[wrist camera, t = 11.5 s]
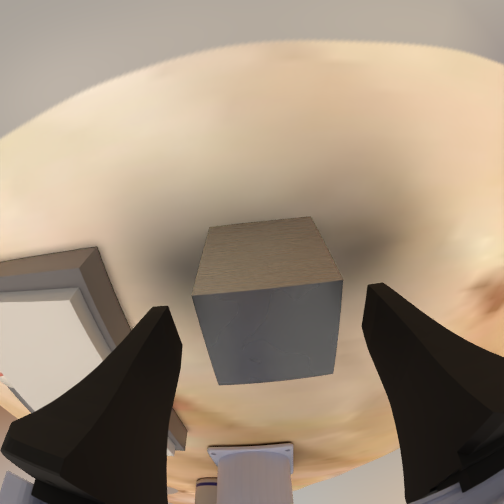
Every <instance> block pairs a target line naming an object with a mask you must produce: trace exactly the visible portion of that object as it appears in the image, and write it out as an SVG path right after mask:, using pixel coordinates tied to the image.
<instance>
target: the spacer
mask: <svg viewBox="0 0 504 504" xmlns="http://www.w3.org/2000/svg"><path fill="white" fill-rule="evenodd" d="M342 287H343V279H342V277H341V275H340V273H339V271H338V269H337V267H336V265H335V263H334V261H333V259H332V257H331V255H330V253H329V251H328V249H327V247H326V245H325V243H324V241H323V239H322V237H321V235H320V233H319V231H318V229H317V227H316V226H315V224H314V222H313V220H312V218H311V217H300V218H290V219H280V220H270V221H260V222H251V223H242V224H233V225H224V226H215V227H209V231H208V235H207V238H206V242H205V246H204V249H203V253H202V257H201V261H200V265H199V268H198V272H197V276H196V280H195V284H194V288H193V292H192V299H193V302H194V306H195V310H196V313H197V317H198V320H199V323H200V327H201V330H202V334H203V337H204V340H205V344H206V347H207V350H208V353H209V356H210V360H211V363H212V366H213V369H214V372H215V375H216V378H217V381H218V384H219V385H235V384H250V383H263V382H274V381H283V380H292V379H300V378H308V377H315V376H321V375H328V374H333V371H334V364H335V356H336V348H337V340H338V331H339V322H340V311H341V300H342Z"/></svg>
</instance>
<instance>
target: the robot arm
mask: <svg viewBox="0 0 504 504" xmlns="http://www.w3.org/2000/svg"><path fill="white" fill-rule="evenodd" d="M362 330H363V333H364V337H365V340H366V344H367V347H368V350H369V353H370V355H371V357H372V360H373V362H374V365H375V367H376V369H377V372H378V374H379V376H380V379H381V381H382V384H383V386H384V389H385V391H386V393H387V396H388V399H389V402H390V405H391V408H392V412H393V416H394V420H395V425H396V429H397V434H398V439H399V444H400V450H401V457H402V464H403V473H404V486H405V499H406V503H407V504H504V357H502V356H499V355H497V354H494V353H492V352H489V351H487V350H485V349H483V348H481V347H479V346H476V345H474V344H473V343H471V342H469V341H467V340H465V339H463V338H462V337H460V336H458V335H456V334H454V333H453V332H451V331H450V330H448V329H446V328H445V327H443V326H442V325H440V324H439V323H437V322H436V321H434V320H433V319H432V318H430V317H429V316H427V315H426V314H425V313H423V312H422V311H420V310H419V309H418V308H416V307H415V306H414V305H412V304H411V303H410V302H408V301H407V300H406V299H405V298H403V297H402V296H401V295H399V294H398V293H397V292H395V291H394V290H393V289H391V288H390V287H389V286H387V285H386V284H384V283H376V284H370V285H368V287H367V294H366V301H365V308H364V315H363V321H362ZM181 358H182V343H181V340H180V337H179V335H178V332H177V329H176V327H175V324H174V321H173V318H172V315H171V313H170V310H169V307H168V306H158V307H152V308H151V309H150V310H149V311H148V313H147V314H146V315H145V316H144V317H143V318H142V319H141V320H140V321H139V323H138V324H137V325H136V326H135V327H134V328H133V329H132V331H131V332H130V333H129V334H128V335H127V336H126V337H125V338H124V340H123V341H122V342H121V343H120V344H119V345H118V346H117V347H116V348H115V349H114V350H113V351H112V352H111V353H110V354H109V355H108V356H107V357H106V358H105V359H104V360H103V362H101V363H100V364H99V365H98V366H97V367H96V368H95V369H94V370H93V371H92V372H91V373H89V374H88V375H87V376H86V377H85V378H84V379H82V380H81V381H80V382H79V383H77V384H76V385H75V386H73V387H72V388H71V389H69V390H68V391H67V392H65V393H64V394H63V395H61V396H60V397H58V398H57V399H55V400H54V401H52V402H50V403H49V404H47V405H45V406H44V407H42V408H40V409H38V410H37V411H35V412H33V413H31V414H29V415H27V416H24V417H22V418H20V419H18V420H16V421H14V422H12V423H11V425H10V427H9V430H8V432H7V435H6V437H5V440H4V442H3V445H2V448H1V452H2V454H3V455H4V456H5V457H6V458H7V459H8V460H10V461H11V462H12V463H14V464H15V465H16V466H18V467H19V468H21V469H22V470H23V471H25V472H26V473H28V474H29V475H31V476H32V477H34V478H35V483H34V484H32V483H31V482H29V481H27V480H25V479H23V478H21V477H19V476H17V475H15V474H14V473H12V472H10V471H7V472H6V475H5V478H4V481H3V484H2V488H1V492H0V504H168V499H167V472H166V468H167V442H168V428H169V421H170V416H171V411H172V406H173V401H174V397H175V392H176V388H177V383H178V378H179V373H180V368H181ZM207 452H208V454H209V455H210V457H211V458H212V460H213V461H214V463H215V464H216V465H217V467H218V477H217V503H216V504H293V494H292V483H291V474H292V473H293V444H291V443H284V444H274V445H261V446H243V447H209V448H207Z"/></svg>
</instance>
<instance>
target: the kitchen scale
mask: <svg viewBox="0 0 504 504" xmlns="http://www.w3.org/2000/svg"><path fill="white" fill-rule="evenodd" d="M130 332H131V329H130V327H129V325H128V323H127V321H126V319H125V316H124V314H123V312H122V310H121V307H120V305H119V303H118V300H117V298H116V296H115V293H114V291H113V288H112V286H111V283H110V281H109V278H108V276H107V273H106V270H105V268H104V265H103V262H102V260H101V257H100V254H99V251H98V248H97V247H92V248H86V249H79V250H72V251H66V252H59V253H53V254H46V255H40V256H34V257H28V258H22V259H16V260H10V261H4V262H0V381H1V382H2V383H3V384H5V385H6V386H7V387H8V388H9V389H10V390H11V391H12V392H13V394H14V395H15V396H16V397H17V398H18V399H19V400H20V401H21V402H22V404H23V405H24V406H25V407H26V408H27V409H28V410H29V411H30V412H31V413H33V412H35V411H37V410H38V409H40V408H42V407H44V406H45V405H47V404H49V403H50V402H52V401H54V400H55V399H57V398H58V397H60V396H61V395H63V394H64V393H65V392H67V391H68V390H69V389H71V388H72V387H73V386H75V385H76V384H77V383H79V382H80V381H81V380H82V379H84V378H85V377H86V376H87V375H88V374H89V373H91V372H92V371H93V370H94V369H95V368H96V367H97V366H98V365H99V364H100V363H101V362H103V360H104V359H105V358H106V357H107V356H108V355H109V354H110V353H111V352H112V351H113V350H114V349H115V348H116V347H117V346H118V345H119V344H120V343H121V342H122V341H123V340H124V338H125V337H126V336H127V335H128V334H129V333H130ZM186 438H187V430H186V429H185V427H184V426H183V424H182V423H181V421H180V419H179V418H178V416H177V415H176V413H175V411H174V410H173V408H172V411H171V416H170V421H169V428H168V442H167V456H174V454H175V450H180V451H185V446H186Z"/></svg>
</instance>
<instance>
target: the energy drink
mask: <svg viewBox="0 0 504 504" xmlns="http://www.w3.org/2000/svg"><path fill="white" fill-rule="evenodd" d="M216 503H217V478H203V479H199V480H198V481H197V482H196V493H195V504H216Z"/></svg>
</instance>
